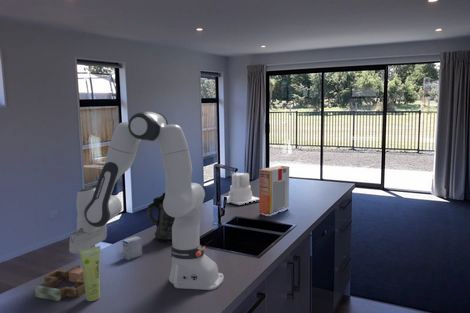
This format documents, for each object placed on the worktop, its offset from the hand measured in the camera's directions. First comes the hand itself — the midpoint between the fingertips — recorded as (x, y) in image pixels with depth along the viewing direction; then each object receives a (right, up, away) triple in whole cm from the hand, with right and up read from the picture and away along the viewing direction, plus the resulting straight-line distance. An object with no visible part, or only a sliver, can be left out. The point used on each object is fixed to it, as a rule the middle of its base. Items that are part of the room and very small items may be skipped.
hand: (89, 256), depth 166 cm
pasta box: (+89, +5, +95) cm, 130 cm away
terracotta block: (-2, -8, -7) cm, 11 cm away
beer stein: (+27, -2, +41) cm, 49 cm away
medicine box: (+14, -5, +17) cm, 23 cm away
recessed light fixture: (+67, +9, +125) cm, 142 cm away
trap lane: (-4, -8, -12) cm, 15 cm away
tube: (+10, -10, -23) cm, 27 cm away
